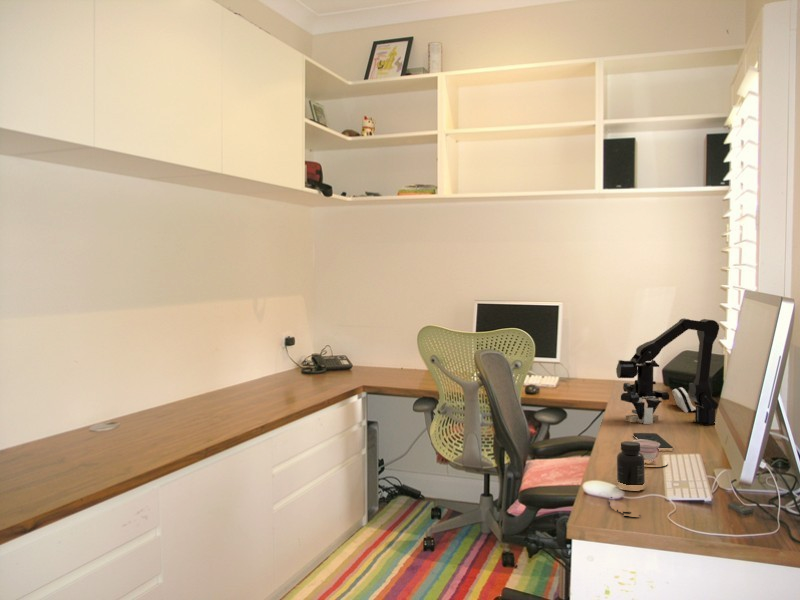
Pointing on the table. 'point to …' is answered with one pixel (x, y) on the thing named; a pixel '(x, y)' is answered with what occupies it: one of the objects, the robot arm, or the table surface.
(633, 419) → the pine board
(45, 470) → the table surface
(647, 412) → the marking gauge
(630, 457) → the supplement bottle
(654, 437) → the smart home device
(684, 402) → the white rounded piece
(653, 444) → the teacup
